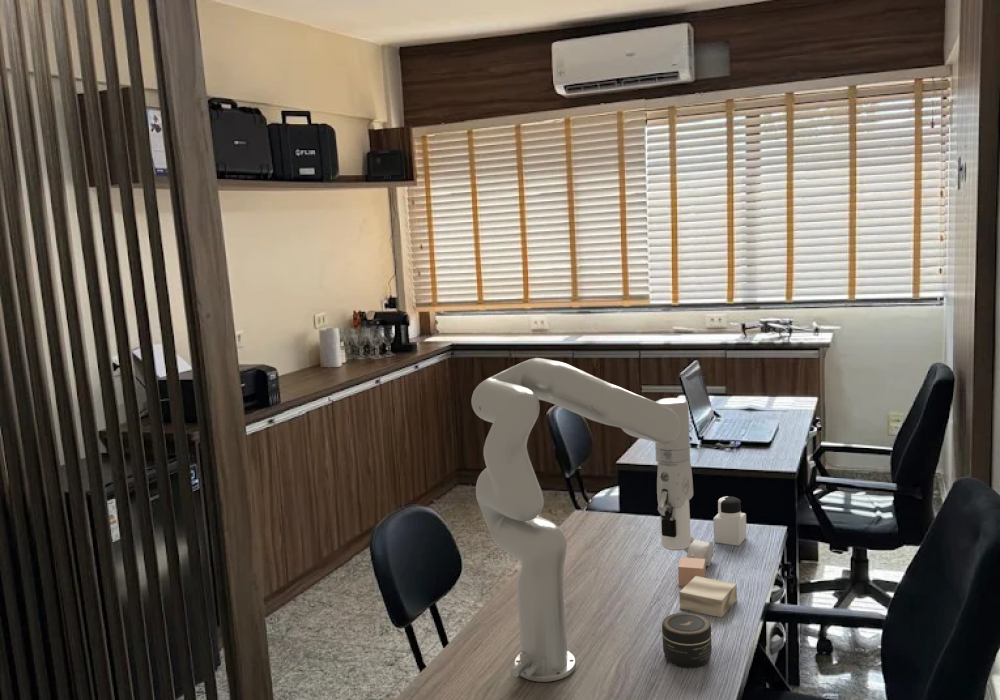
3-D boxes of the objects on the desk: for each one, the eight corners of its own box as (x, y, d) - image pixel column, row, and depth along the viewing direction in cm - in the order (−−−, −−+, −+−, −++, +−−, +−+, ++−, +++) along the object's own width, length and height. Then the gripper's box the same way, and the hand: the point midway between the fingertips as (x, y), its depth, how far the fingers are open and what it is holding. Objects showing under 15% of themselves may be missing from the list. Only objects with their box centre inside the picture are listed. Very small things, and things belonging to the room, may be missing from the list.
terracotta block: (703, 588, 207) (703, 568, 206) (678, 586, 209) (678, 566, 208) (705, 577, 212) (705, 558, 212) (681, 576, 214) (680, 557, 214)
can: (656, 543, 194) (654, 492, 192) (681, 538, 196) (679, 488, 194) (670, 553, 188) (668, 501, 186) (696, 547, 190) (694, 496, 188)
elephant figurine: (723, 561, 221) (723, 535, 220) (704, 573, 215) (704, 547, 213) (697, 554, 227) (697, 529, 226) (678, 566, 220) (677, 540, 219)
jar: (721, 656, 175) (721, 621, 173) (694, 675, 168) (693, 639, 167) (681, 640, 182) (680, 607, 181) (653, 659, 175) (651, 624, 174)
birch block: (721, 617, 191) (721, 600, 190) (679, 608, 197) (679, 591, 196) (736, 599, 199) (736, 583, 198) (696, 591, 205) (695, 575, 204)
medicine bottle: (746, 537, 236) (746, 496, 235) (739, 546, 231) (738, 504, 229) (721, 533, 240) (720, 493, 238) (713, 542, 234) (712, 500, 233)
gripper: (673, 466, 180) (676, 546, 182) (703, 445, 194) (705, 520, 196) (640, 462, 184) (644, 541, 187) (672, 442, 198) (675, 515, 201)
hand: (675, 529), depth 192 cm, fingers closed on can, 6 cm apart
